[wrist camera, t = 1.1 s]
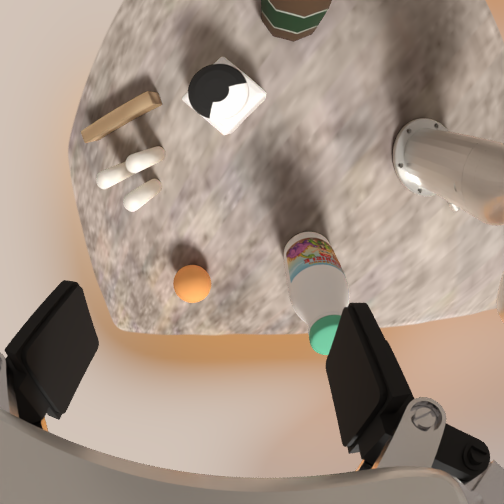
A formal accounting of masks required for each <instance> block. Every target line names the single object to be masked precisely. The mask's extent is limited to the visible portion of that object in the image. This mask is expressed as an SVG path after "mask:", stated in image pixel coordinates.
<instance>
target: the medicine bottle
mask: <svg viewBox="0 0 504 504" xmlns="http://www.w3.org/2000/svg"><path fill="white" fill-rule="evenodd" d="M265 99H266V91H265V90H264V89H262V88H261V87H260V86H259V85H258V84H257V83H255V82H254V81H253V80H252V79H251V78H250V77H248V76H247V75H246V74H245V73H244V72H242V71H241V70H240V69H239V68H237V67H236V66H235V65H234V64H232V63H231V62H230V61H229V60H227V59H226V58H225V57H220V58H219V59H218V60H217V61H216V62H215V63H214V64H212V65H209V66H206V67H204V68H202V69H201V70H200V71H198V72H197V73H196V74H195V75H194V77H193V78H192V80H191V82H190V85H189V89H188V92H187V93H186V94H185V95H184V96H183V97H182V100H183V101H184V102H185V103H186V104H187V105H189V106H190V107H191V108H192V109H194V110H195V111H196V112H197V113H198V114H200V115H201V116H202V117H203V118H204V119H205V120H207V121H208V122H209V123H210V124H211V125H212V126H214V127H215V128H216V129H217V130H218V131H219V132H221V133H222V134H223V135H227V134H230V133H232V132H233V131H234V130H235V129H236V128H237V127H238V126H239V125H240V124H241V123H242V122H243V121H244V120H245V119H246V118H247V117H248V116H249V115H250V114H251V113H252V112H253V111H254V110H255V109H256V108H257V107H258V106H259V105H260V104H261V103H262V102H263V101H264V100H265Z"/></svg>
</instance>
